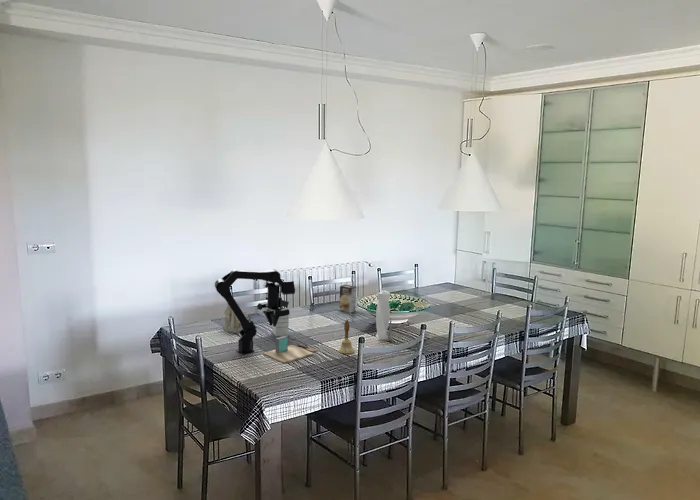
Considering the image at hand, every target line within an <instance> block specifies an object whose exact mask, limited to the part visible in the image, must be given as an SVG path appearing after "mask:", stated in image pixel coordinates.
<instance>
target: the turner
mask: <svg viewBox="0 0 700 500" xmlns="http://www.w3.org/2000/svg"><path fill="white" fill-rule="evenodd" d="M297 345H298V346H299V347H300V348H301V347H302V348H303V349H305V350H307V351H309V352H312V353H316V352H318V349H316V348H313V347H309V346H306V345H304V344H301V343H298V344H297Z"/></svg>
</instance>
